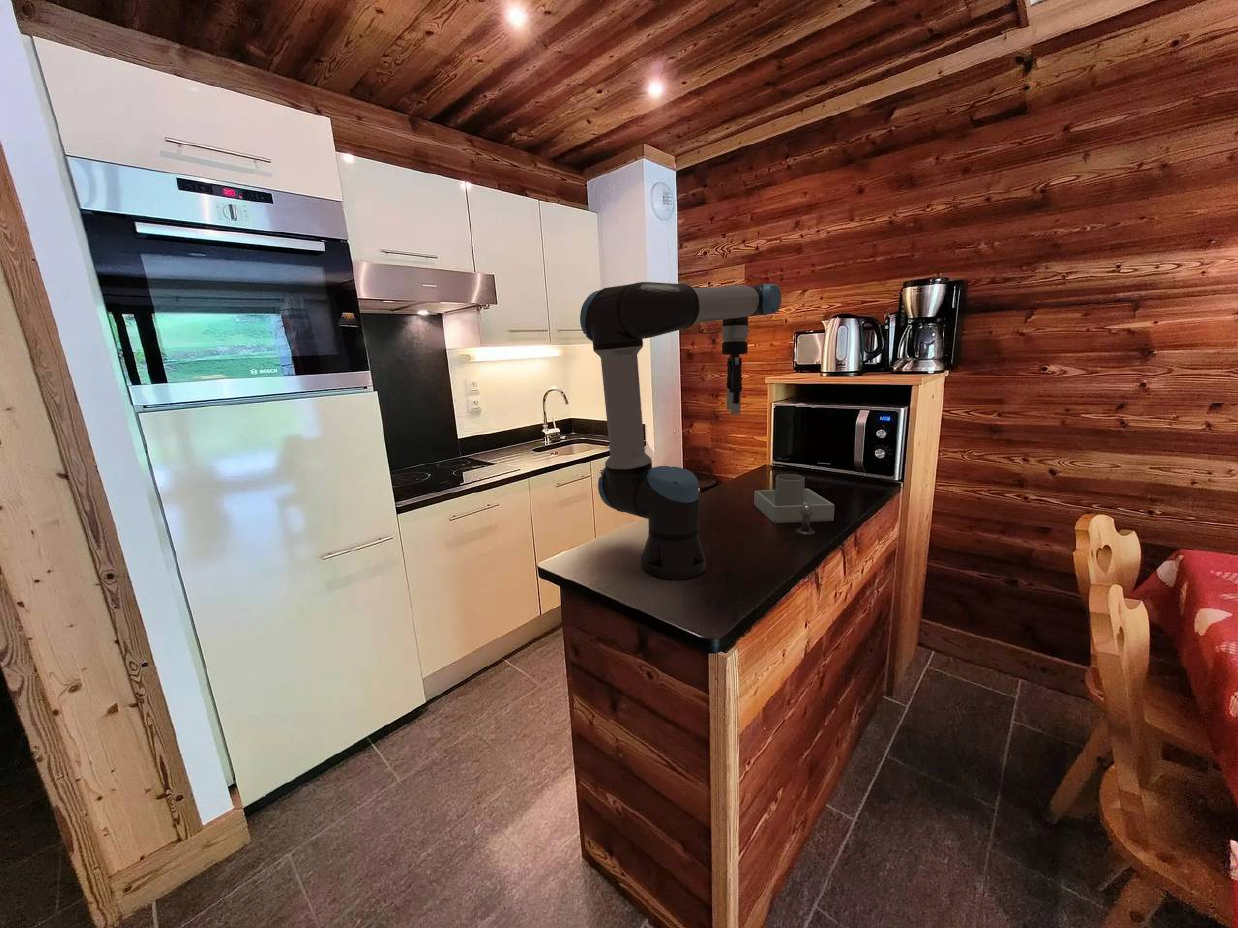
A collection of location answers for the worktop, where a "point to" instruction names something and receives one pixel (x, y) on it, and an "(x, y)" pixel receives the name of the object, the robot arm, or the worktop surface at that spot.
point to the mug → (789, 490)
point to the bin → (793, 507)
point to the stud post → (806, 520)
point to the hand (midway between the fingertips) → (733, 412)
